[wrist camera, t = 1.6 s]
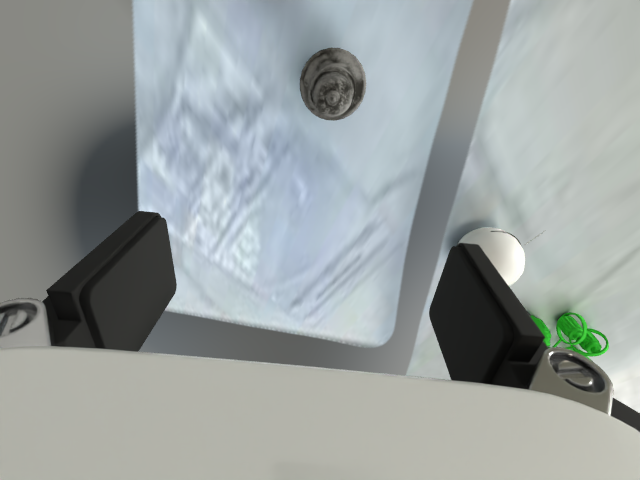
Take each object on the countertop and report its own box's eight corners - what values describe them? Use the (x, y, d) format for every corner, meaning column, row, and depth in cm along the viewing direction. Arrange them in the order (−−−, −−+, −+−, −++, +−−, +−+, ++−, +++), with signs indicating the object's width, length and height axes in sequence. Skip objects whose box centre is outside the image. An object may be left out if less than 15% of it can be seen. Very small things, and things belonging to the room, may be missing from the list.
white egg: (455, 275, 44) (475, 314, 37) (437, 231, 40) (457, 265, 34) (535, 246, 41) (572, 283, 35) (523, 196, 38) (561, 227, 32)
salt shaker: (293, 61, 32) (274, 71, 21) (352, 36, 30) (362, 33, 20) (315, 121, 34) (307, 155, 24) (370, 100, 33) (387, 127, 23)
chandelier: (469, 365, 52) (486, 406, 47) (522, 294, 45) (551, 332, 39) (553, 383, 54) (581, 425, 48) (619, 317, 47) (660, 358, 41)
